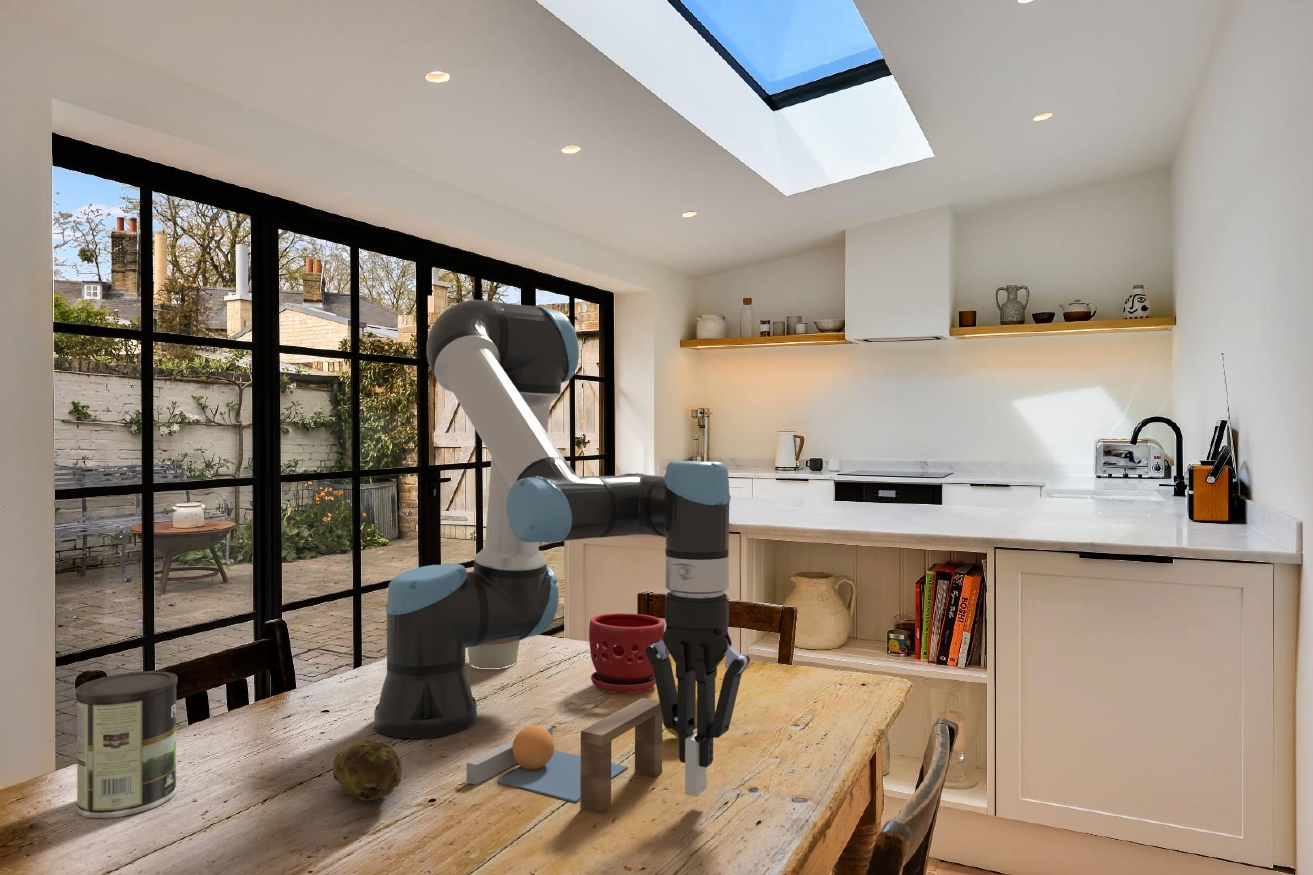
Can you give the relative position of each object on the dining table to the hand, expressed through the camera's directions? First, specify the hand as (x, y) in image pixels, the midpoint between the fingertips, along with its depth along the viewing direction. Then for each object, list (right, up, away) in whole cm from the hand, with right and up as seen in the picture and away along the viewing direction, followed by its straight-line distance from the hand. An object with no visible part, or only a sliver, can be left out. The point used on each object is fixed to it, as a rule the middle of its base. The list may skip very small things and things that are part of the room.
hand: (695, 791), depth 99 cm
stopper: (-24, -2, +13) cm, 28 cm away
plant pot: (-10, -2, +48) cm, 49 cm away
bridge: (-9, -2, +5) cm, 10 cm away
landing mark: (-17, -2, +9) cm, 19 cm away
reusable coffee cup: (-36, -2, +63) cm, 72 cm away
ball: (-21, +1, +11) cm, 24 cm away
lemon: (-1, -2, +22) cm, 23 cm away
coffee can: (-68, -2, +1) cm, 68 cm away
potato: (-39, -2, +1) cm, 40 cm away
